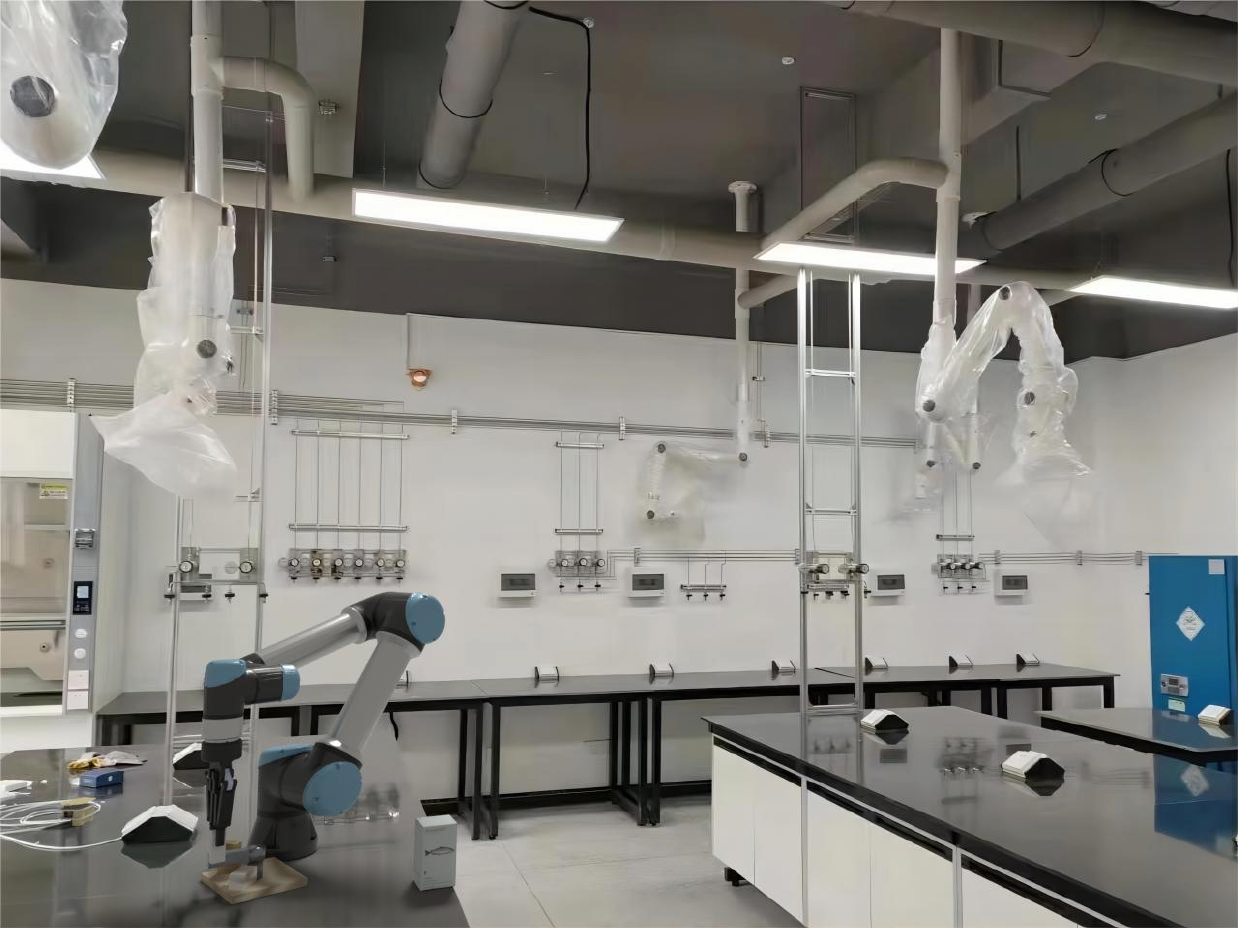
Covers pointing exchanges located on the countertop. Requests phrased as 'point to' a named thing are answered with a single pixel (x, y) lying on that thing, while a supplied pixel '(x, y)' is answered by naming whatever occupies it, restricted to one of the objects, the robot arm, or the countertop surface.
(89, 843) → the countertop surface
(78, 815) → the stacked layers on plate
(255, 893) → the lock plate
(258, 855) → the swing bar
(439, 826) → the supplement box
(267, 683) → the robot arm
